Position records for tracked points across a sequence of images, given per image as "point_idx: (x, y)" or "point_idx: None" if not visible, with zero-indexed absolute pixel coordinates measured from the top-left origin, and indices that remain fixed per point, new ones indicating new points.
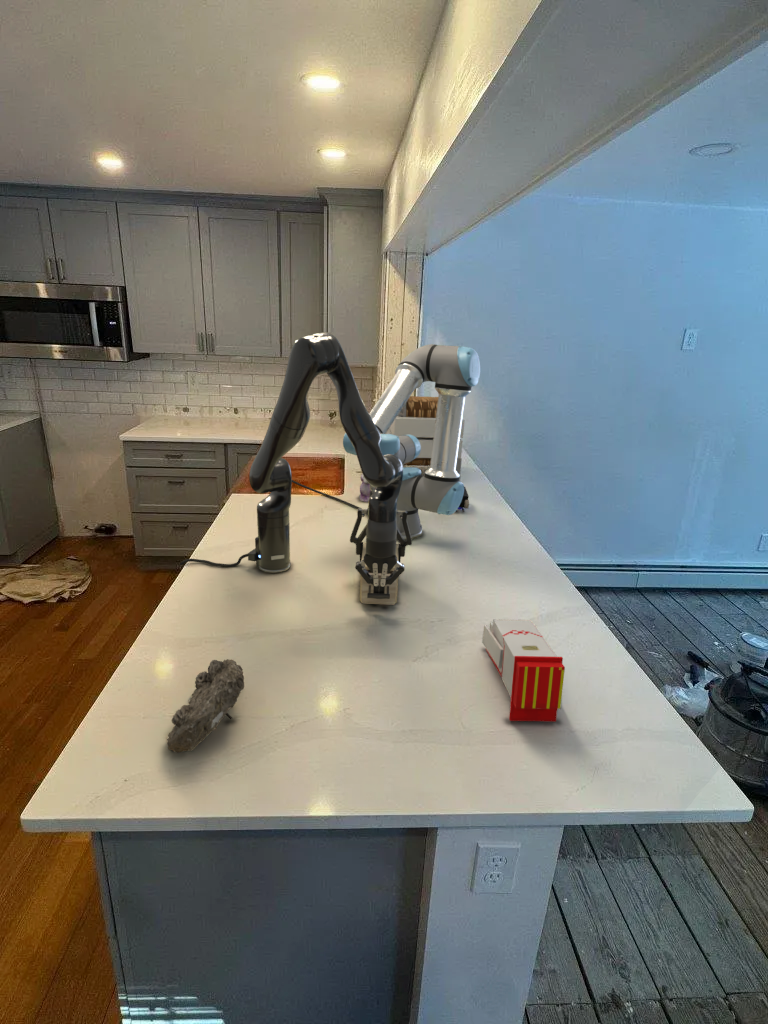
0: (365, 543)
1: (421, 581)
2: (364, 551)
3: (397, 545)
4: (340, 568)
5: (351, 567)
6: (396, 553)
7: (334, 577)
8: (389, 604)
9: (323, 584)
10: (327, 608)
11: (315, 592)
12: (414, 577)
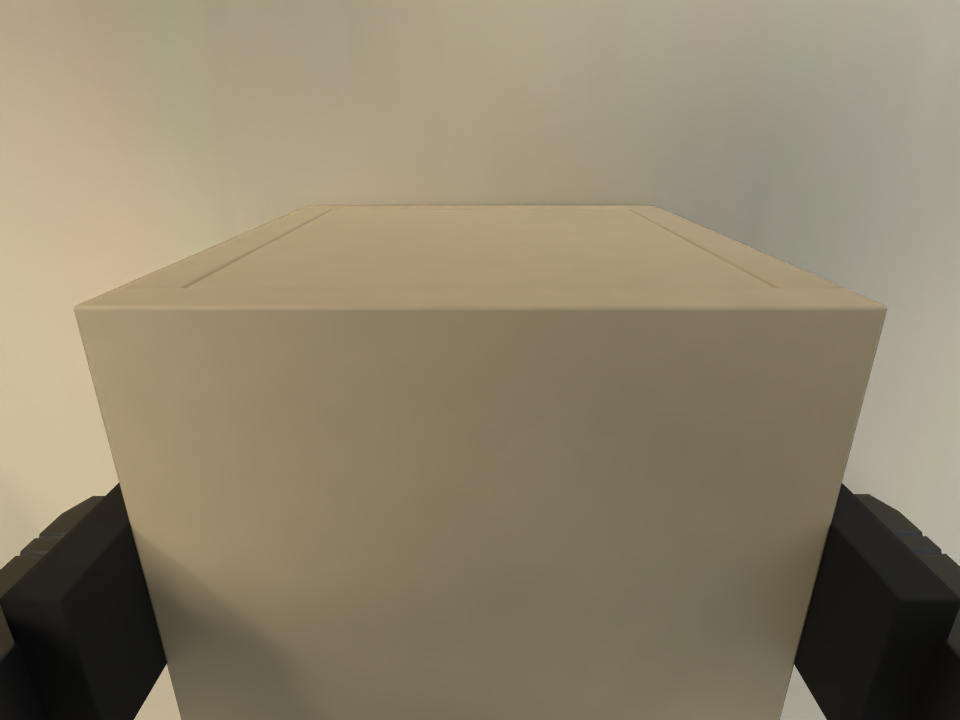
0: (134, 368)
1: (887, 293)
2: (206, 688)
3: (853, 395)
4: (36, 61)
5: (151, 17)
6: (752, 711)
7: (52, 288)
8: None
9: (8, 426)
10: (163, 713)
11: (3, 547)
12: (841, 212)
